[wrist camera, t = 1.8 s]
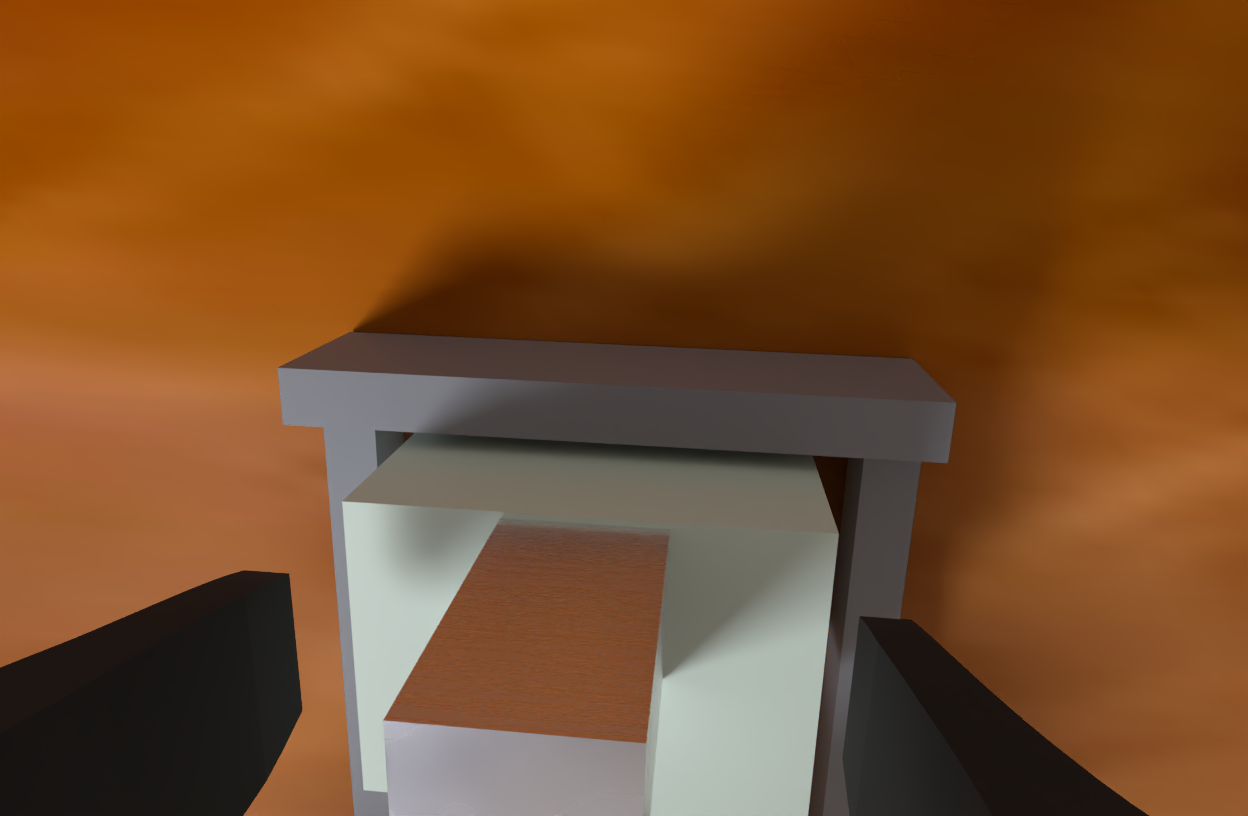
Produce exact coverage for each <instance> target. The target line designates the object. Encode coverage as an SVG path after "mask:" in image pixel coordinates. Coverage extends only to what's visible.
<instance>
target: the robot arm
mask: <svg viewBox="0 0 1248 816" xmlns="http://www.w3.org/2000/svg"><path fill="white" fill-rule="evenodd" d="M301 712H302V701H301V690H300V680H299V670H298V660H297V650H296V639H295V629H294V619H293V609H292V599H291V588H290V578H289V574H286V573H272V572H259V571H245V570H244V571H240V572H237V573H234V574H230V575H227V576H224V577H221V578H218V579H216V580H213V581H210V582H208V583H205V584H202V585H200V586H197V587H195V588H192V589H190V590H187V591H185V592H183V593H180V594H178V595H175V596H173V597H171V598H168V599H166V600H164V601H161V602H159V603H157V604H154V605H152V606H149V607H147V608H145V609H142V610H140V611H138V612H135V613H133V614H131V615H128V616H126V617H124V618H121V619H119V620H117V621H114V622H112V623H110V624H107V625H105V626H103V627H100V628H98V629H96V630H93V631H91V632H89V633H86V634H84V635H81V636H79V637H77V638H74V639H72V640H69V641H67V642H64V643H61V644H59V645H56V646H54V647H51V648H49V649H46V650H44V651H41V652H39V653H36V654H34V655H31V656H29V657H26V658H24V659H21V660H19V661H16V662H13V663H11V664H8V665H6V666H3V667H1V668H0V816H243V815H244V813H245V812H246V811H247V809H248V808H249V806H250V805H251V803H252V802H253V800H254V799H255V797H256V796H257V794H258V793H259V791H260V790H261V788H262V787H263V785H264V784H265V782H266V781H267V779H268V777H269V775H270V773H271V771H272V770H273V768H274V766H275V764H276V762H277V760H278V758H279V756H280V755H281V753H282V751H283V749H284V747H285V745H286V743H287V741H288V739H289V737H290V735H291V733H292V731H293V728H294V726H295V724H296V722H297V720H298V718H299V716H300V714H301ZM842 759H843V767H844V775H845V784H846V792H847V800H848V807H849V815H850V816H1149V815H1147V814H1146V813H1144V812H1143V811H1141V810H1140V809H1138V808H1137V807H1135V806H1134V805H1132V804H1131V803H1130V802H1128V801H1127V800H1125V799H1124V798H1123V797H1121V796H1120V795H1119V794H1117V793H1116V792H1114V791H1113V790H1112V789H1110V788H1109V787H1107V786H1106V785H1105V784H1103V783H1102V782H1101V781H1099V780H1098V779H1097V778H1095V777H1094V776H1093V775H1092V774H1090V773H1089V772H1088V771H1087V770H1085V769H1084V768H1083V767H1081V766H1080V765H1079V764H1078V763H1076V762H1075V761H1074V760H1072V759H1071V758H1070V757H1069V756H1067V755H1066V754H1065V753H1063V752H1062V751H1061V750H1060V749H1058V748H1057V747H1056V746H1055V745H1053V744H1052V743H1051V742H1050V741H1048V740H1047V739H1046V738H1045V737H1044V736H1042V735H1041V734H1040V733H1039V732H1037V731H1036V730H1035V729H1034V728H1033V727H1031V726H1030V725H1029V724H1028V723H1027V722H1025V721H1024V720H1023V719H1022V718H1021V717H1020V716H1018V715H1017V714H1016V713H1015V712H1014V711H1013V710H1011V709H1010V708H1009V707H1008V706H1007V705H1006V704H1005V703H1003V702H1002V701H1001V700H1000V699H999V698H998V697H997V696H996V695H994V694H993V693H992V692H991V691H990V690H989V689H988V688H987V687H985V686H984V685H983V684H982V683H981V682H980V681H979V680H978V679H977V678H975V677H974V676H973V675H972V674H971V673H970V672H969V671H968V670H967V669H966V668H965V667H963V666H962V665H961V664H960V663H959V662H958V661H957V660H956V659H955V658H954V657H953V656H952V655H950V654H949V653H948V652H947V651H946V650H945V649H944V648H943V647H942V646H941V645H940V644H939V643H937V642H936V641H935V640H934V639H933V638H932V637H931V636H930V635H929V634H928V633H926V632H925V631H924V630H923V629H922V628H921V627H919V626H918V625H917V624H916V623H915V622H913V621H912V620H907V619H893V618H880V617H866V616H860V617H859V625H858V633H857V641H856V650H855V658H854V666H853V674H852V683H851V691H850V699H849V707H848V716H847V724H846V732H845V740H844V749H843V757H842Z"/></svg>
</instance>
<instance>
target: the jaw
mask: <svg viewBox="0 0 1248 816" xmlns="http://www.w3.org/2000/svg"><path fill="white" fill-rule="evenodd" d="M342 506H343V520H344V533H345V547H346V560H347V574H348V587H349V601H350V614H351V627H352V641H353V654H354V668H355V681H356V695H357V708H358V722H359V735H360V749H361V762H362V775H363V789H364V790H367V791H378V792H388V805H389V816H808V811H809V802H810V793H811V784H812V775H813V766H814V756H815V747H816V738H817V729H818V720H819V711H820V701H821V692H822V683H823V674H824V665H825V656H826V646H827V637H828V628H829V619H830V610H831V601H832V591H833V582H834V573H835V564H836V555H837V546H838V536H839V533H838V530H837V527H836V524H835V521H834V518H833V515H832V512H831V509H830V506H829V503H828V500H827V497H826V494H825V491H824V488H823V485H822V482H821V479H820V476H819V473H818V470H817V467H816V464H815V462H814V459H813V456H812V455H796V454H779V453H761V452H744V451H727V450H709V449H692V448H675V447H657V446H640V445H623V444H605V443H588V442H571V441H553V440H536V439H519V438H501V437H484V436H467V435H449V434H432V433H414V434H413V435H412V436H411V437H410V438H409V439H408V440H407V441H406V442H405V443H403V444H402V445H401V446H400V447H399V448H398V449H397V450H396V451H395V452H394V453H393V454H392V455H391V456H390V457H389V458H388V459H387V460H385V461H384V462H383V463H382V464H381V465H380V466H379V467H378V468H377V469H376V470H375V471H374V472H373V473H372V474H371V475H370V476H368V477H367V478H366V479H365V480H364V481H363V482H362V483H361V484H360V485H359V486H358V487H357V488H356V489H355V490H354V491H353V492H352V493H350V494H349V495H348V496H347V497H346V498H345V499H344V500H343V501H342Z"/></svg>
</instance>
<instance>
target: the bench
mask: <svg viewBox="0 0 1248 816" xmlns="http://www.w3.org/2000/svg"><path fill="white" fill-rule="evenodd" d="M278 376H279V387H280V398H281V408H282V419H283V425H293V426H311V427H324V438H325V451H326V464H327V476H328V489H329V502H330V514H331V527H332V540H333V552H334V565H335V578H336V590H337V603H338V616H339V628H340V641H341V654H342V666H343V679H344V692H345V704H346V717H347V730H348V742H349V755H350V768H351V780H352V793H353V806H354V816H389V805H388V792H378V791H367V790H364V789H363V775H362V762H361V749H360V735H359V722H358V708H357V695H356V681H355V668H354V654H353V641H352V627H351V614H350V601H349V587H348V574H347V560H346V547H345V533H344V520H343V506H342V501H343V500H344V499H345V498H346V497H347V496H348V495H349V494H350V493H352V492H353V491H354V490H355V489H356V488H357V487H358V486H359V485H360V484H361V483H362V482H363V481H364V480H365V479H366V478H367V477H368V476H370V475H371V474H372V473H373V472H374V471H375V470H376V469H377V468H378V467H379V466H380V465H381V464H382V463H383V462H384V461H385V460H387V459H388V458H389V457H390V456H391V455H392V454H393V453H394V452H395V451H396V450H397V449H398V448H399V447H400V446H401V445H402V444H403V443H404V432H415V433H432V434H449V435H467V436H484V437H501V438H519V439H536V440H553V441H571V442H588V443H605V444H623V445H640V446H657V447H675V448H692V449H709V450H727V451H744V452H761V453H779V454H796V455H813V456H831V457H848V463H847V472H846V481H845V490H844V499H843V508H842V517H841V527H840V536H839V545H838V554H837V563H836V572H835V581H834V591H833V600H832V609H831V618H830V627H829V636H828V645H827V655H826V664H825V673H824V682H823V691H822V700H821V709H820V719H819V728H818V737H817V746H816V755H815V764H814V773H813V783H812V792H811V801H810V810H809V816H850V815H849V807H848V800H847V792H846V784H845V775H844V767H843V759H842V757H843V749H844V740H845V732H846V724H847V716H848V707H849V699H850V691H851V683H852V674H853V666H854V658H855V650H856V641H857V633H858V625H859V617H860V616H866V617H880V618H893V619H900V615H901V608H902V601H903V593H904V586H905V578H906V571H907V564H908V556H909V549H910V542H911V534H912V527H913V520H914V512H915V505H916V498H917V490H918V483H919V476H920V468H921V462H935V463H948V459H949V452H950V445H951V438H952V431H953V424H954V418H955V411H956V404H957V403H956V402H955V401H954V400H953V399H952V398H951V397H950V396H949V395H948V394H947V393H946V392H945V391H944V390H943V389H942V388H941V387H940V386H939V385H938V383H937V382H936V381H935V380H934V379H933V378H932V377H931V376H930V375H929V374H928V373H927V372H926V371H925V370H924V369H923V368H922V367H921V366H920V365H919V364H918V363H917V362H916V361H915V360H914V359H911V358H890V357H869V356H848V355H827V354H806V353H785V352H764V351H743V350H722V349H701V348H680V347H659V346H638V345H617V344H596V343H575V342H554V341H533V340H512V339H491V338H470V337H449V336H428V335H407V334H386V333H365V332H349V333H347V334H345V335H343V336H341V337H339V338H337V339H335V340H333V341H331V342H329V343H327V344H325V345H323V346H321V347H319V348H317V349H315V350H313V351H311V352H309V353H307V354H305V355H303V356H301V357H299V358H297V359H294V360H292V361H290V362H288V363H286V364H284V365H282V366H280V367H278Z"/></svg>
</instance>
